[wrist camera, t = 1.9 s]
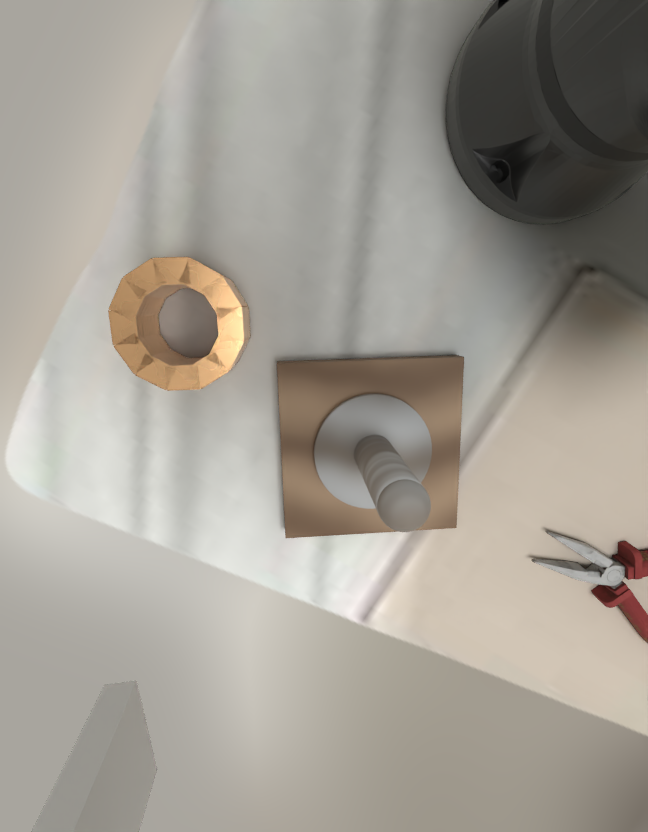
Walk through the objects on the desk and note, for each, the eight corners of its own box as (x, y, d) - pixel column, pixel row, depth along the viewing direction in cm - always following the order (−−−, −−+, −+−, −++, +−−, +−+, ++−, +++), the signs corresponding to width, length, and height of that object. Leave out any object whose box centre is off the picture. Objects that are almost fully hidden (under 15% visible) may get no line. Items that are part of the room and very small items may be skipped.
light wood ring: (129, 266, 32) (101, 258, 27) (246, 264, 33) (238, 256, 28) (143, 380, 34) (119, 392, 29) (253, 376, 35) (247, 387, 30)
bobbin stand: (277, 361, 34) (270, 391, 22) (456, 355, 35) (549, 380, 23) (285, 529, 38) (283, 639, 25) (450, 519, 39) (527, 621, 26)
